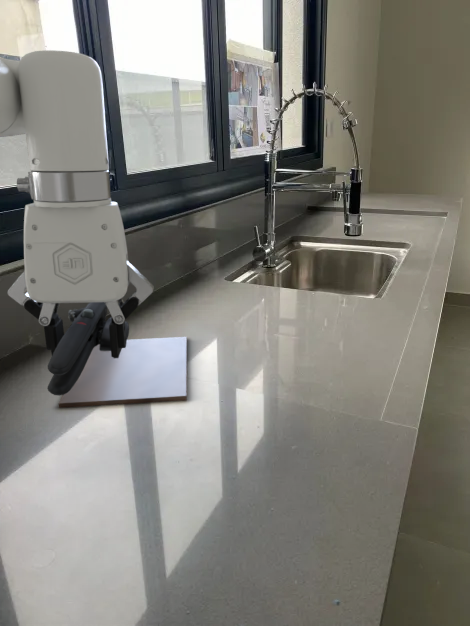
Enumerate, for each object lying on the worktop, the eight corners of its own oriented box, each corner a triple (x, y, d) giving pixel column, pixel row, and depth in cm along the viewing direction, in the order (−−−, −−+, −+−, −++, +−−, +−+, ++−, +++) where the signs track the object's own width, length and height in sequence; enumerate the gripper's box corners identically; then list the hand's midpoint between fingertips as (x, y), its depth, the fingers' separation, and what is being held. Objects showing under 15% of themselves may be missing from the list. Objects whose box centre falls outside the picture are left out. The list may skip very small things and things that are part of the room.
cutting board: (59, 413, 70) (58, 403, 70) (90, 348, 93) (89, 341, 92) (187, 405, 72) (186, 396, 71) (187, 343, 94) (186, 336, 94)
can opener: (82, 334, 65) (78, 293, 63) (135, 335, 64) (132, 294, 63) (18, 399, 48) (10, 345, 46) (89, 401, 48) (84, 347, 46)
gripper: (-32, 193, 46) (-4, 371, 52) (155, 192, 47) (163, 366, 53) (-2, 187, 53) (20, 344, 59) (160, 186, 54) (166, 340, 60)
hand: (88, 353), depth 56 cm, fingers closed on can opener, 5 cm apart
